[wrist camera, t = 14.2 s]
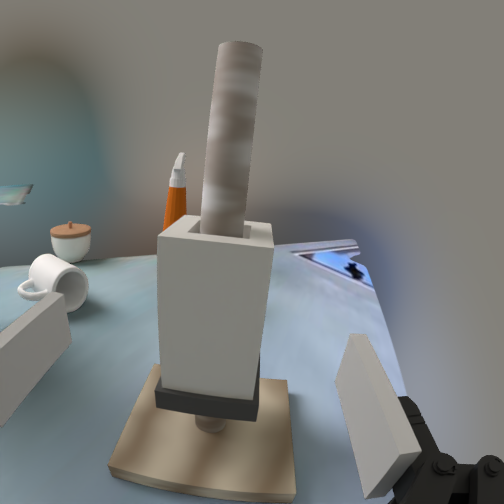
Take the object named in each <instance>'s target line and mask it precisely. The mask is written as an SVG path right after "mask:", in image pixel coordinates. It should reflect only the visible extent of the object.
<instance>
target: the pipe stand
mask: <svg viewBox="0 0 504 504" xmlns="http://www.w3.org/2000/svg"><path fill="white" fill-rule="evenodd" d="M262 53H263V49H262V48H261V47H259V46H258V45H255V44H252V43H248V42H240V41H231V42H225V43H222V44H221V45H219V50H218V57H217V64H216V71H215V79H214V86H213V94H212V103H211V112H210V121H209V130H208V140H207V150H206V160H205V171H204V183H203V195H202V208H201V222H200V234H208V235H218V236H227V237H237V238H243V229H244V219H245V210H246V198H247V190H248V180H249V171H250V161H251V152H252V142H253V133H254V124H255V115H256V106H257V97H258V88H259V78H260V70H261V61H262ZM160 376H161V366H160V365H159V364H154V365H153V368H152V370H151V372H150V374H149V376H148V378H147V380H146V382H145V384H144V386H143V388H142V390H141V393H140V395H139V397H138V399H137V401H136V403H135V405H134V407H133V410H132V412H131V414H130V416H129V418H128V420H127V423H126V425H125V427H124V429H123V431H122V434H121V436H120V438H119V440H118V442H117V445H116V447H115V449H114V451H113V454H112V456H111V458H110V460H109V463H108V468H109V470H110V472H111V475H112V476H113V477H117V478H120V479H123V480H127V481H130V482H134V483H138V484H142V485H146V486H150V487H154V488H158V489H163V490H168V491H172V492H178V493H183V494H189V495H195V496H201V497H208V498H216V499H224V500H234V501H246V502H264V503H292V501H293V499H294V497H295V495H296V482H295V469H294V456H293V444H292V432H291V420H290V409H289V398H288V387H287V380H277V379H265V378H260V385H259V409H258V414H257V420H256V422H250V421H240V420H230V419H222V418H214V417H207V416H200V415H193V414H187V413H181V412H176V411H170V410H165V409H160V408H156V401H155V392H154V390H155V388H156V385H157V383H158V381H159V378H160Z"/></svg>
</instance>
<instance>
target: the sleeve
mask: <svg viewBox="0 0 504 504" xmlns="http://www.w3.org/2000/svg"><path fill="white" fill-rule="evenodd" d="M200 222H201V216H190V215H184V216H183V217H181V218H180V219H179V220H177V221H176V222H175V223H173V224H172V225H171V226H169V227H168V228H167V229H166V230H164V231H163V232H162V233H161V234H159V235H158V243H157V299H158V331H159V351H160V366H161V380H162V388H167V389H173V390H178V391H184V392H190V393H197V394H204V395H211V396H218V397H226V398H235V399H245V400H253V394H254V388H255V381H256V375H257V368H258V361H259V355H260V348H261V341H262V334H263V327H264V320H265V313H266V305H267V298H268V291H269V283H270V276H271V268H272V261H273V253H274V243H273V237H272V229H271V224H268V223H260V222H249V221H244V229H243V238H237V237H227V236H218V235H208V234H200Z"/></svg>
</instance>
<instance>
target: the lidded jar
mask: <svg viewBox="0 0 504 504" xmlns="http://www.w3.org/2000/svg"><path fill="white" fill-rule="evenodd" d="M50 233H51V241H52V246H53V250H54V252H55V254H56V255H57V256H58V257H59V258H60V259H62V260H63V261H65V262H67V263H75V262H79V261H81V260H83V258H84V256H85V255H86V254H87V252H88V250H89V247H90V240H91V227H89V226H88V225H84V224H72V222H69V223H68V224H66V225H60V226H56V227H54V228H52V229H51V231H50Z"/></svg>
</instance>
